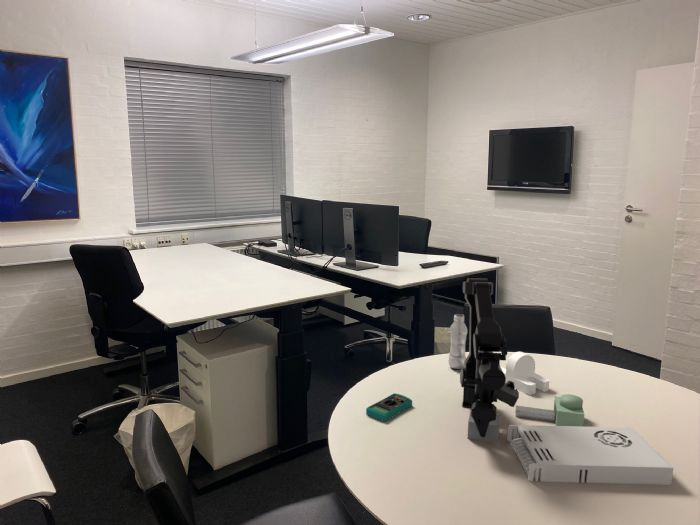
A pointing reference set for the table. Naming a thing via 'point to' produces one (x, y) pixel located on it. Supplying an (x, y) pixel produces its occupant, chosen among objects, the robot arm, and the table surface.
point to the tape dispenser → (524, 374)
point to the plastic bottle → (457, 342)
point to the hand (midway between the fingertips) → (483, 428)
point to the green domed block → (557, 411)
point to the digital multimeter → (389, 406)
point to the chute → (491, 432)
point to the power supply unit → (588, 455)
